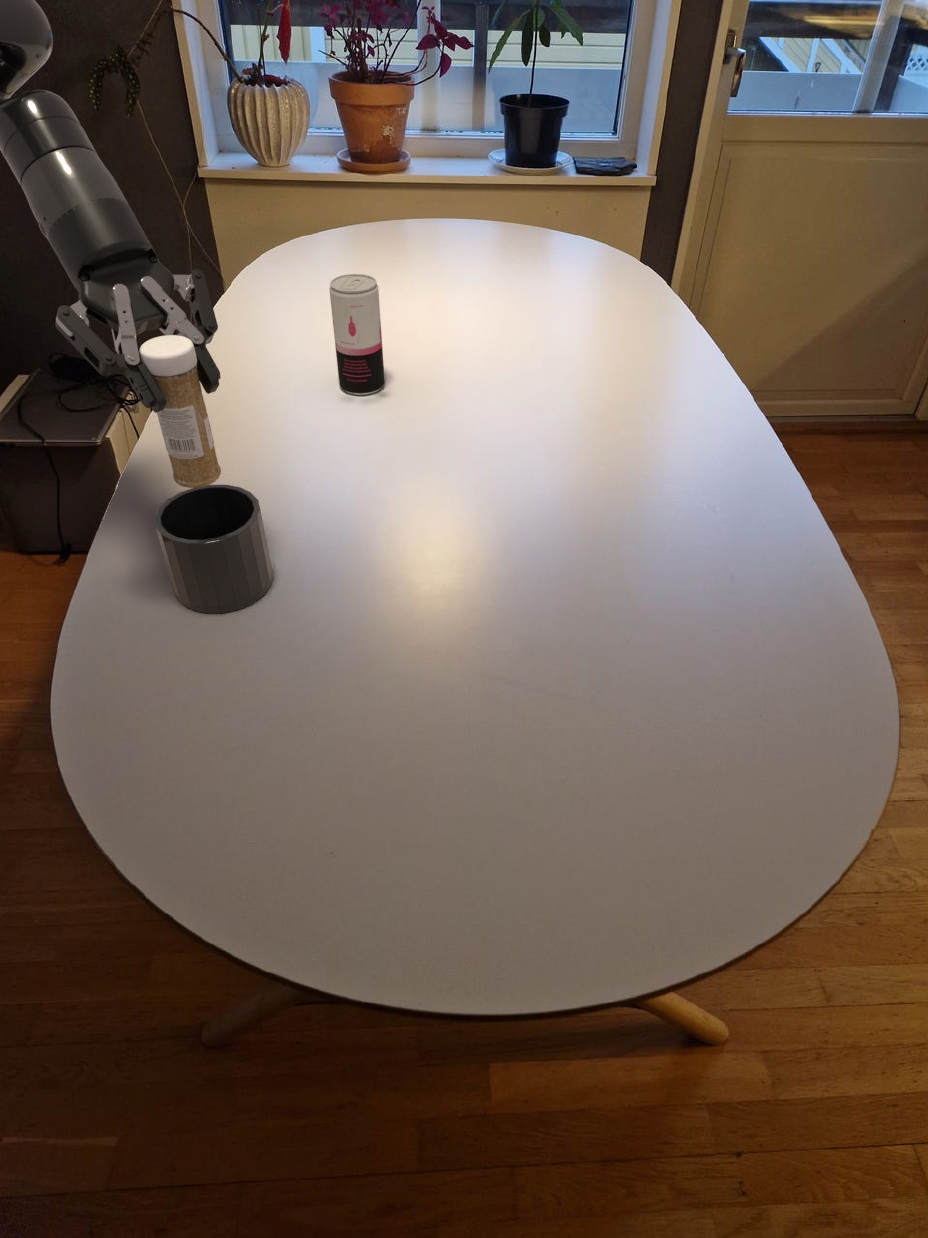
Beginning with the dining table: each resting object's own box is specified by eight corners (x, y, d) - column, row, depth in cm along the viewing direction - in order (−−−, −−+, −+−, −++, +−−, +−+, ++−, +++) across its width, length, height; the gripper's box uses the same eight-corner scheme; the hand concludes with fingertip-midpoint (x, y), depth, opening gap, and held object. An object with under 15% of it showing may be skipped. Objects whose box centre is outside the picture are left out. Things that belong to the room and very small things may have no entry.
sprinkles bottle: (230, 469, 84) (203, 337, 75) (204, 494, 81) (172, 359, 72) (190, 460, 85) (159, 329, 76) (163, 484, 82) (127, 350, 73)
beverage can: (392, 379, 127) (385, 276, 117) (372, 399, 122) (364, 294, 112) (352, 372, 128) (342, 270, 118) (331, 391, 124) (320, 287, 114)
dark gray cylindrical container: (178, 622, 87) (157, 551, 81) (172, 563, 94) (152, 493, 88) (279, 602, 89) (266, 532, 83) (265, 545, 97) (252, 477, 91)
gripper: (6, 214, 68) (118, 408, 69) (171, 179, 75) (269, 356, 76) (4, 264, 74) (106, 441, 76) (156, 227, 81) (246, 390, 83)
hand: (187, 397), depth 76 cm, fingers closed on sprinkles bottle, 4 cm apart
